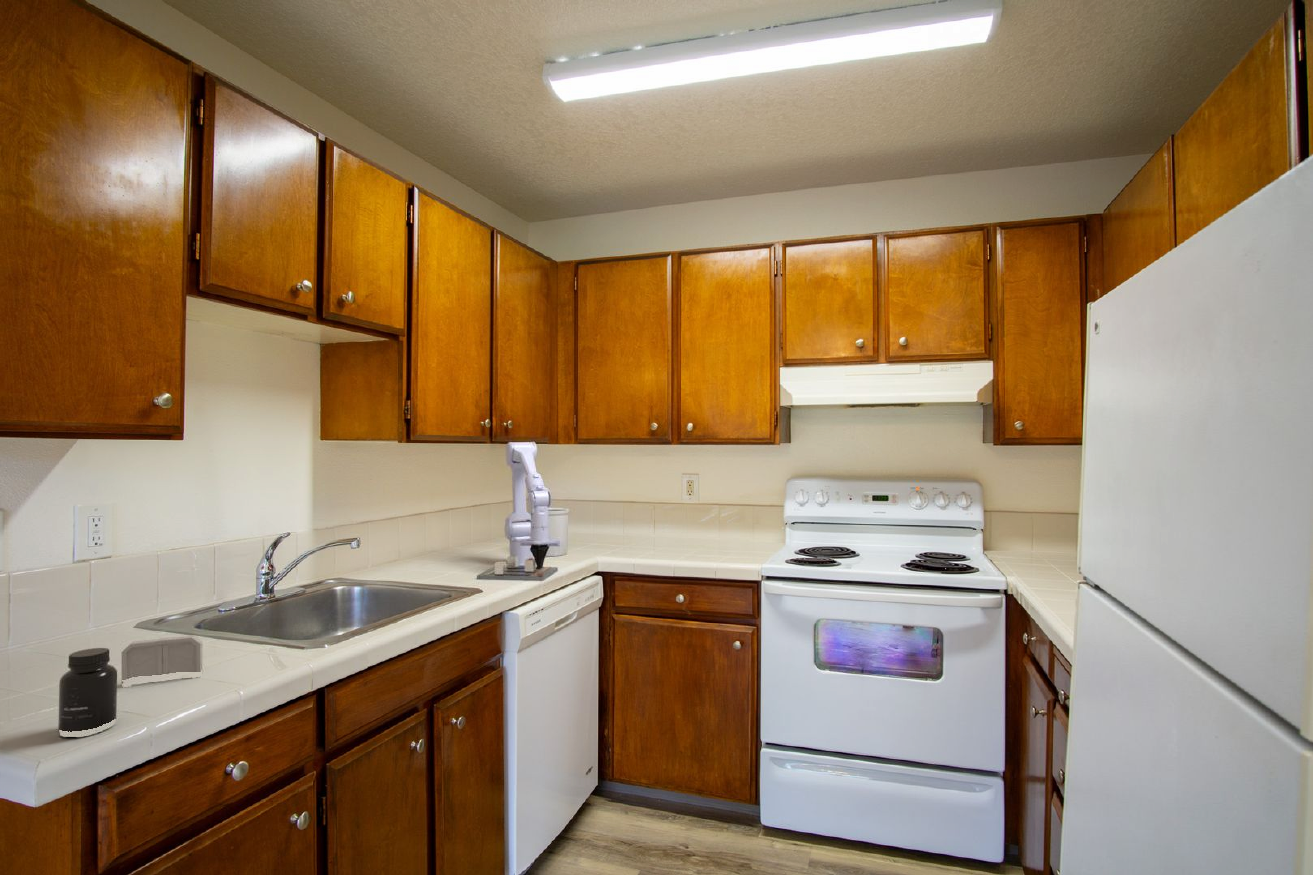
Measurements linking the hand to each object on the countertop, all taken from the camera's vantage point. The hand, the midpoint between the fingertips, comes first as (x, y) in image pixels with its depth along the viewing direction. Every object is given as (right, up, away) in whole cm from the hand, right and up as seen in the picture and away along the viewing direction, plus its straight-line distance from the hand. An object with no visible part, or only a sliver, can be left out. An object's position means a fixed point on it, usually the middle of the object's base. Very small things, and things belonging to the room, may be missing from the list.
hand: (539, 568), depth 217 cm
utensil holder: (-3, -3, +42) cm, 42 cm away
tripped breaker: (-3, -1, 0) cm, 3 cm away
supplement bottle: (-49, -2, -115) cm, 125 cm away
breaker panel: (-7, -2, +1) cm, 8 cm away
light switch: (-54, -3, -94) cm, 108 cm away
